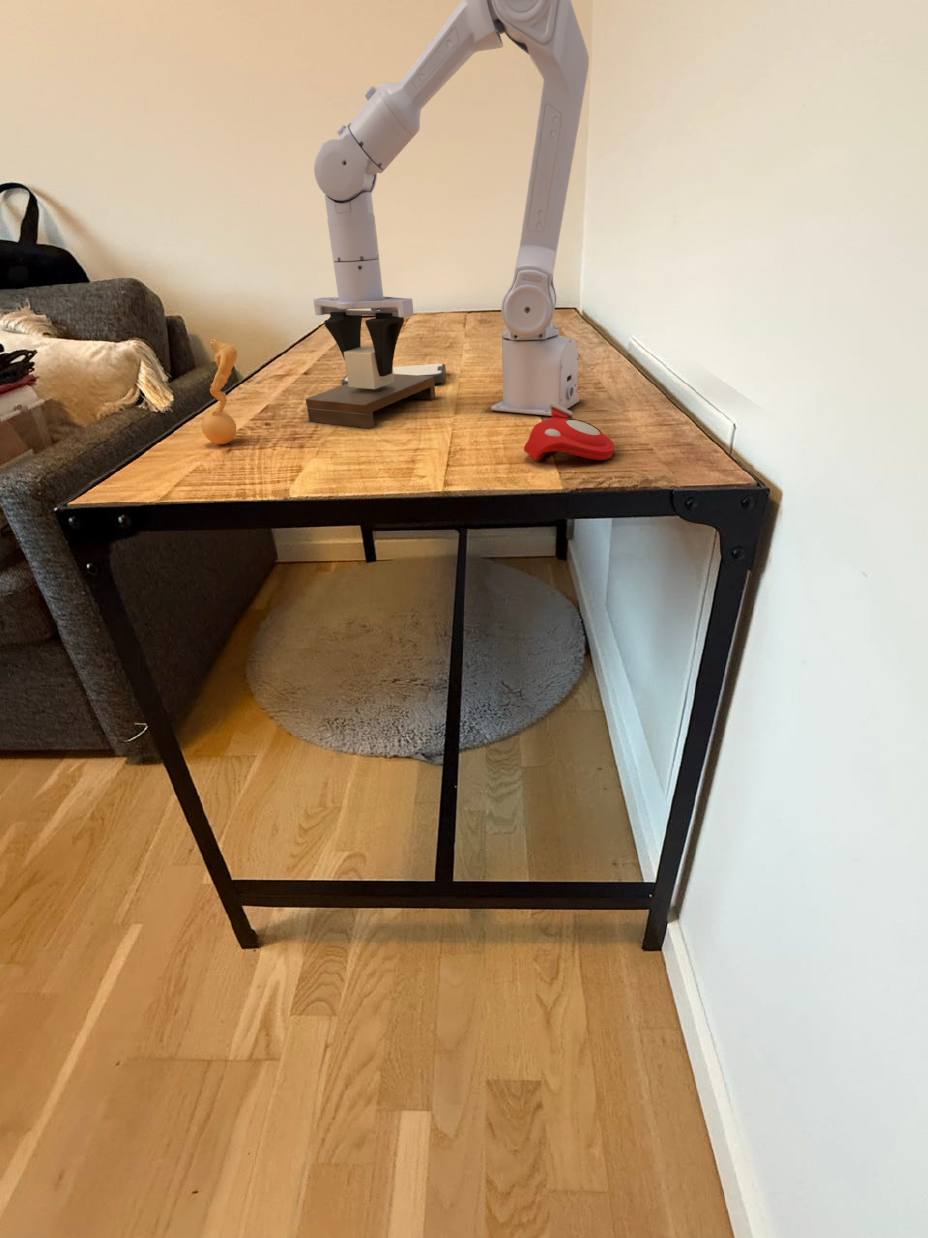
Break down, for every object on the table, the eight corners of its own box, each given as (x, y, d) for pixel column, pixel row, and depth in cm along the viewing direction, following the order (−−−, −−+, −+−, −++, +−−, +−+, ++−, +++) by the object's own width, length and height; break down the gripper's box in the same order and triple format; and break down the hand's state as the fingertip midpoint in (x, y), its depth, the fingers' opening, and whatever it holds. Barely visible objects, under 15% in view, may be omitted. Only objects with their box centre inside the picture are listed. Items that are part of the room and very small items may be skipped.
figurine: (213, 435, 86) (187, 335, 80) (260, 431, 87) (239, 331, 80) (199, 455, 79) (171, 347, 73) (251, 450, 80) (227, 343, 73)
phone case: (341, 392, 104) (444, 384, 103) (340, 381, 103) (443, 373, 102) (350, 380, 111) (446, 372, 110) (348, 369, 110) (445, 362, 110)
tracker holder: (637, 443, 70) (567, 440, 65) (620, 481, 73) (552, 481, 67) (568, 395, 78) (500, 389, 72) (554, 431, 80) (488, 428, 75)
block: (394, 381, 92) (391, 346, 89) (375, 389, 89) (370, 353, 86) (368, 379, 94) (364, 345, 91) (348, 387, 91) (343, 351, 88)
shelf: (435, 397, 97) (434, 376, 95) (368, 428, 85) (365, 404, 83) (379, 393, 101) (377, 372, 99) (309, 421, 90) (305, 398, 88)
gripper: (290, 263, 84) (309, 376, 91) (384, 262, 77) (397, 383, 84) (327, 258, 89) (342, 365, 96) (418, 256, 82) (427, 371, 89)
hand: (370, 373), depth 91 cm, fingers closed on block, 4 cm apart
